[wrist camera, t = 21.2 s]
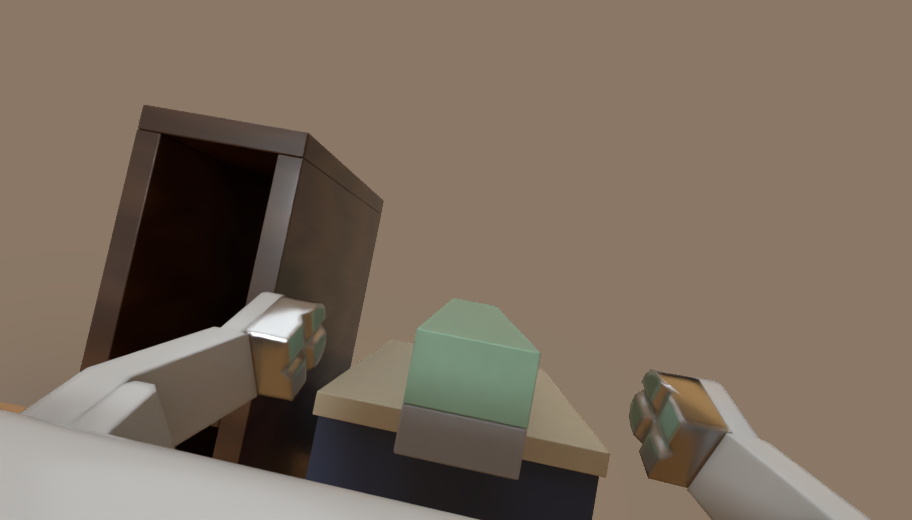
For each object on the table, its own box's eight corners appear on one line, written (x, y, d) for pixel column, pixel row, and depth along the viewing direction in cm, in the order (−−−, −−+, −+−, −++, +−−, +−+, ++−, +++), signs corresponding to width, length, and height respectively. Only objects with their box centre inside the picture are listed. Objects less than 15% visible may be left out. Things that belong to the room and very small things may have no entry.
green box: (518, 482, 11) (541, 352, 12) (392, 454, 12) (416, 327, 12) (488, 350, 33) (496, 306, 34) (444, 341, 34) (453, 297, 34)
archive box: (546, 845, 14) (610, 453, 15) (240, 761, 15) (316, 391, 16) (509, 563, 29) (543, 369, 29) (354, 527, 29) (391, 339, 30)
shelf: (179, 737, 15) (309, 132, 17) (3, 689, 16) (142, 104, 17) (319, 520, 29) (384, 200, 31) (223, 498, 30) (291, 183, 31)
